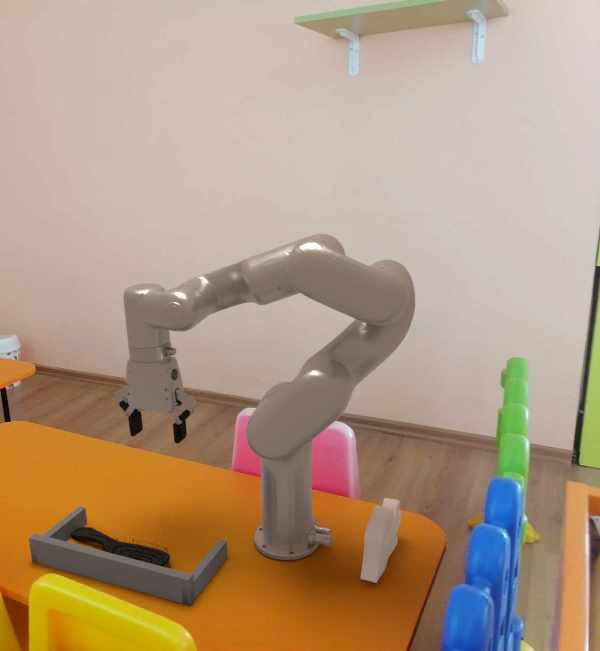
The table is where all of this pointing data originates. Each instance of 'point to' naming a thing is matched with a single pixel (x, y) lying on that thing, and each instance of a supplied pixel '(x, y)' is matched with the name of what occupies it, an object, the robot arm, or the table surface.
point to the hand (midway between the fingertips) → (158, 436)
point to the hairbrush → (123, 547)
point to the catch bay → (122, 563)
